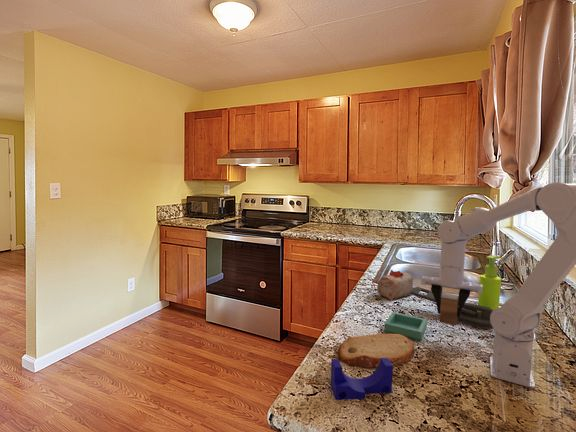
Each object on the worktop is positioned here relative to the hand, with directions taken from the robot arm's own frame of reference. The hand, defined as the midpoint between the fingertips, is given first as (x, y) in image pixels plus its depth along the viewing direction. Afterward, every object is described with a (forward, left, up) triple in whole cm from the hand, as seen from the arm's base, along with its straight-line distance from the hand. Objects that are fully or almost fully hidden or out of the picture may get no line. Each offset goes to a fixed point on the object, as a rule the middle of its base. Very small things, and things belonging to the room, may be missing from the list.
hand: (448, 314), depth 87 cm
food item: (+30, +21, -8) cm, 37 cm away
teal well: (+1, +11, -8) cm, 13 cm away
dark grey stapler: (+20, +1, -8) cm, 22 cm away
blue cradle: (-34, +13, -8) cm, 37 cm away
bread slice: (-17, +15, -8) cm, 24 cm away
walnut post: (0, 0, -2) cm, 2 cm away
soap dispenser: (+28, -10, -8) cm, 31 cm away
